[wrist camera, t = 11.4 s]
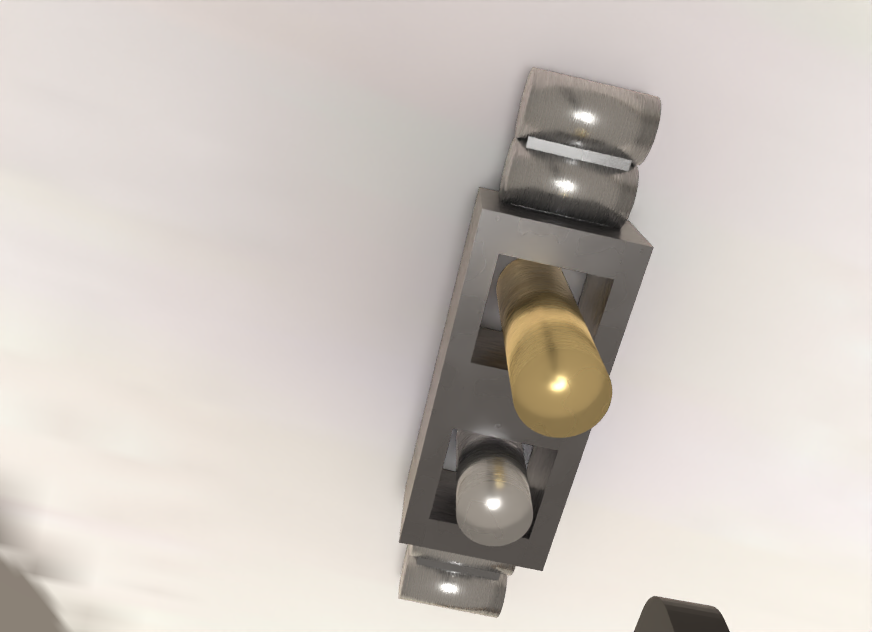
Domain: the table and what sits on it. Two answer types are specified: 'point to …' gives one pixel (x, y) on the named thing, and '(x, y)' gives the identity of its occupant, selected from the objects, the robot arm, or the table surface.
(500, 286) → the brass pin
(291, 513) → the table surface
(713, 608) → the robot arm
